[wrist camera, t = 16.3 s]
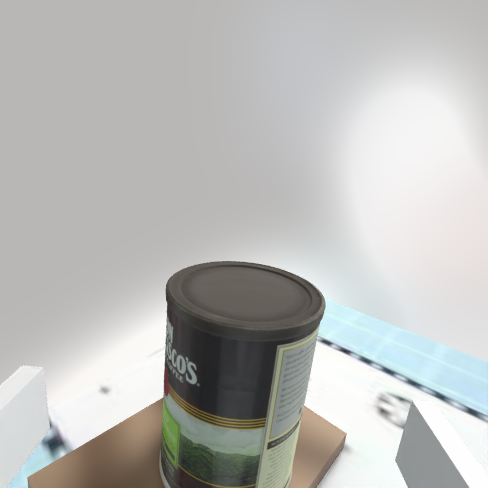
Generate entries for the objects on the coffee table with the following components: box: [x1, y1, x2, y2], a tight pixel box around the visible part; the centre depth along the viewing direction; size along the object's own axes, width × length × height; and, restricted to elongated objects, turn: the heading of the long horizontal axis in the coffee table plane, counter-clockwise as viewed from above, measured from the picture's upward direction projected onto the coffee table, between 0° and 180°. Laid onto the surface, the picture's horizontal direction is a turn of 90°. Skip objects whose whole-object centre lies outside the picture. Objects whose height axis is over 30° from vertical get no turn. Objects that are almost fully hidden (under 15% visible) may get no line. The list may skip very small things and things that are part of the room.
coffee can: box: [159, 261, 325, 488], centre depth 22 cm, size 10×10×14 cm
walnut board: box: [27, 398, 346, 488], centre depth 24 cm, size 20×14×2 cm
